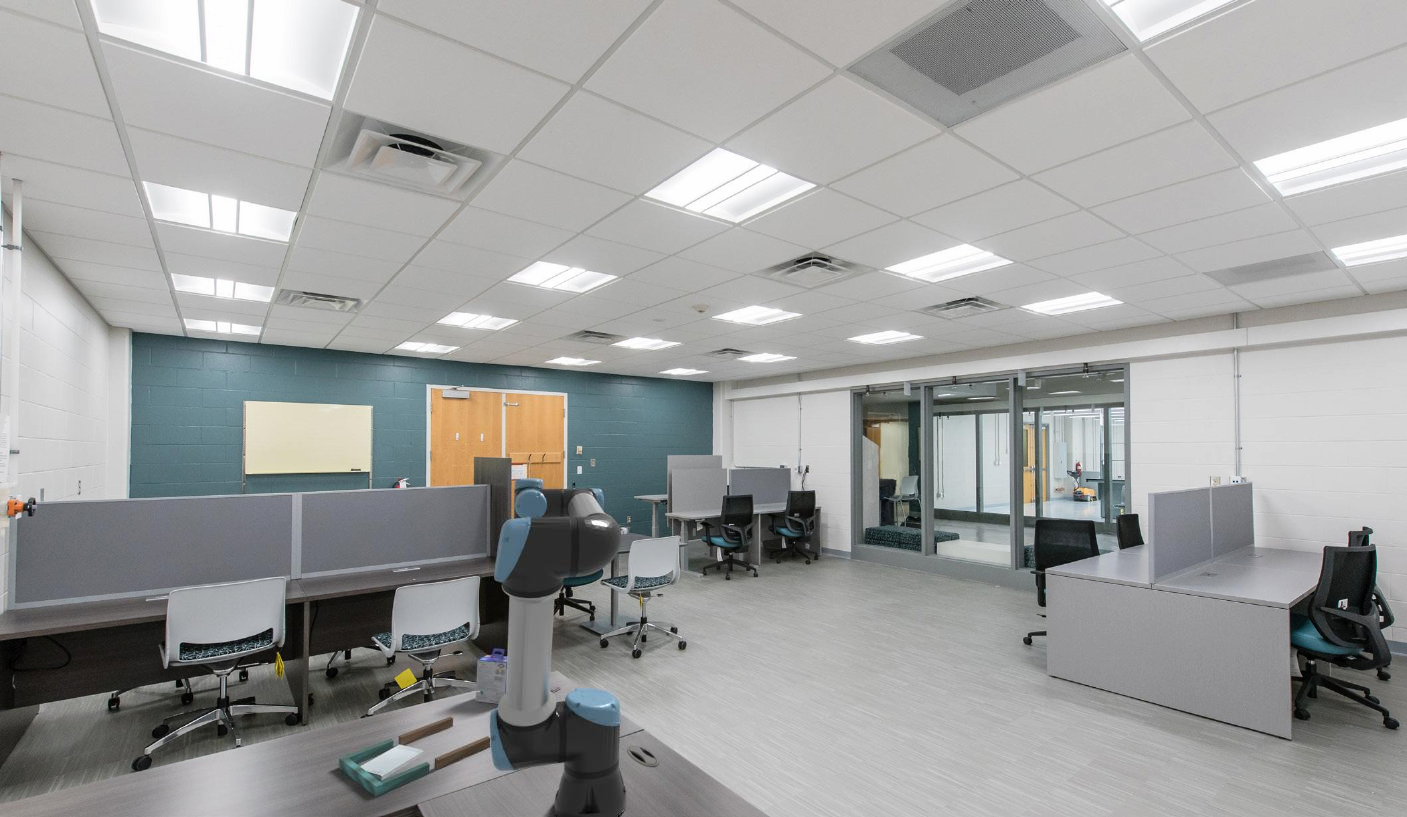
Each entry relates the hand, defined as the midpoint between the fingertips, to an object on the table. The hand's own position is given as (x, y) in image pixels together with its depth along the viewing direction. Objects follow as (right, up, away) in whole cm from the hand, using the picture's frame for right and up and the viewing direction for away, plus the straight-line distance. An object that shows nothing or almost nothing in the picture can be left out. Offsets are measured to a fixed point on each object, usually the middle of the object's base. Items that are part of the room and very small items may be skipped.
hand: (524, 625), depth 163 cm
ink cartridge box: (-15, -30, +19) cm, 38 cm away
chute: (-22, -27, -14) cm, 38 cm away
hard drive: (-27, -28, -17) cm, 43 cm away
